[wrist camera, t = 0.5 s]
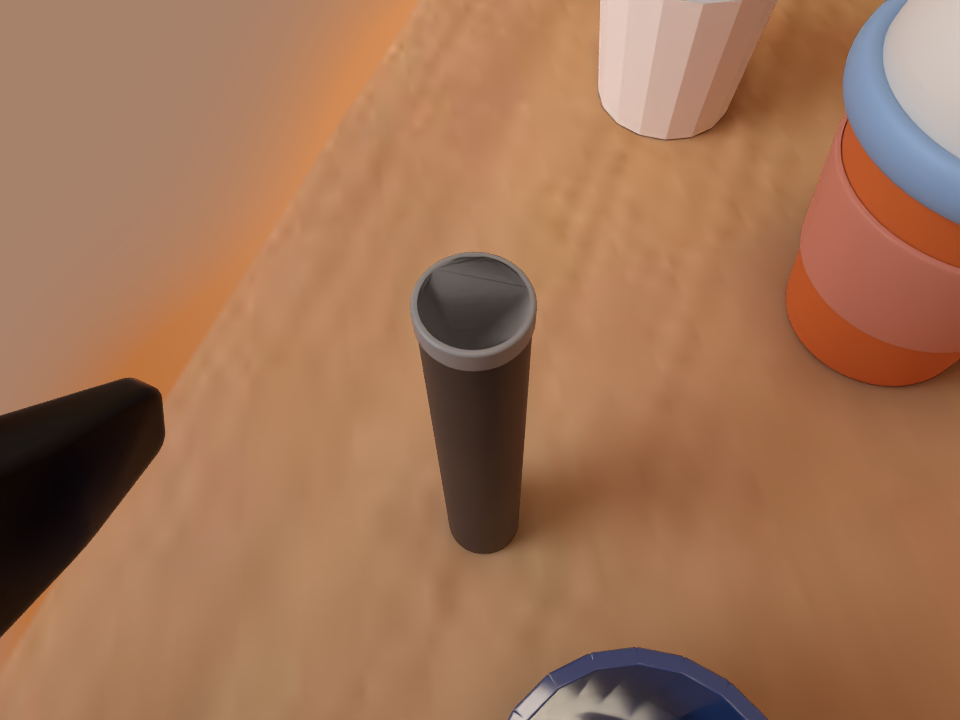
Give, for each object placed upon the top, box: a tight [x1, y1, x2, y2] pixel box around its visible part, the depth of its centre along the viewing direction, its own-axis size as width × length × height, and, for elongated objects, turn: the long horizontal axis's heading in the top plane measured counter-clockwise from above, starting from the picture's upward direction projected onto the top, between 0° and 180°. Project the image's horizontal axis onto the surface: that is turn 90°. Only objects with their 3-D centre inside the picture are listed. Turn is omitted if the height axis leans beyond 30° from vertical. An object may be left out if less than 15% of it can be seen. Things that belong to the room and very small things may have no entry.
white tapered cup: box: [598, 0, 777, 140], centre depth 31 cm, size 7×7×7 cm
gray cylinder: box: [410, 252, 537, 554], centre depth 20 cm, size 2×2×12 cm
